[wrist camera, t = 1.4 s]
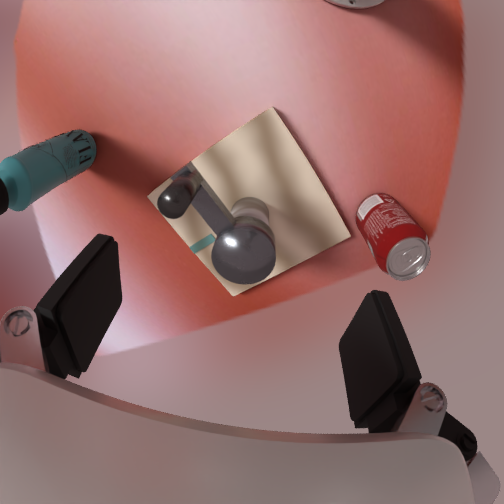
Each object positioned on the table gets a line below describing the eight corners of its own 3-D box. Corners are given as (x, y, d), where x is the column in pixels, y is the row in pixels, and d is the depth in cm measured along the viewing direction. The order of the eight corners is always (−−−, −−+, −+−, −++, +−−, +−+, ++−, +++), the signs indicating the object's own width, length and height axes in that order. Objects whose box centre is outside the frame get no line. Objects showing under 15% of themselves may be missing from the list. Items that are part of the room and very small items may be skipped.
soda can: (346, 205, 38) (372, 252, 27) (387, 182, 35) (427, 221, 25) (365, 242, 40) (391, 294, 30) (403, 221, 38) (440, 267, 28)
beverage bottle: (109, 157, 36) (12, 220, 19) (78, 175, 37) (-13, 240, 20) (93, 118, 32) (-15, 158, 15) (62, 138, 34) (-38, 188, 17)
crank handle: (286, 250, 32) (290, 294, 25) (238, 275, 34) (231, 320, 28) (210, 146, 26) (191, 165, 20) (162, 182, 28) (132, 212, 22)
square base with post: (272, 106, 31) (273, 110, 24) (348, 231, 40) (364, 264, 32) (150, 192, 38) (125, 218, 31) (234, 290, 46) (227, 328, 39)
